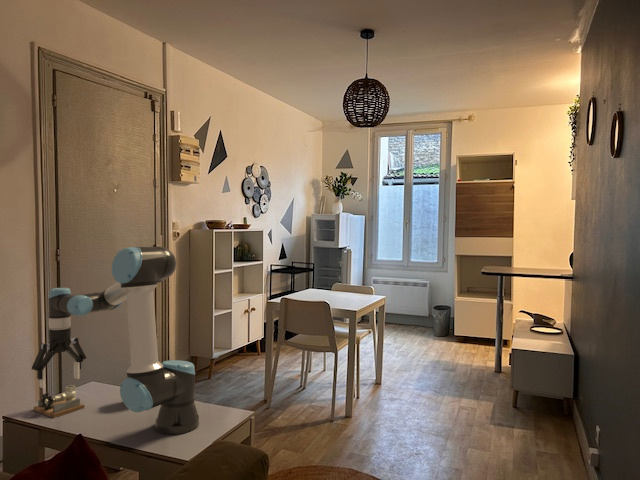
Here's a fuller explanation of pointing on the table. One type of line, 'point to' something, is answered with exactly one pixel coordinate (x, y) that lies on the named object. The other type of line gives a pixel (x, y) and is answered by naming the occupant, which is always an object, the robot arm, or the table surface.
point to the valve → (59, 397)
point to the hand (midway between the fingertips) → (60, 382)
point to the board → (59, 407)
